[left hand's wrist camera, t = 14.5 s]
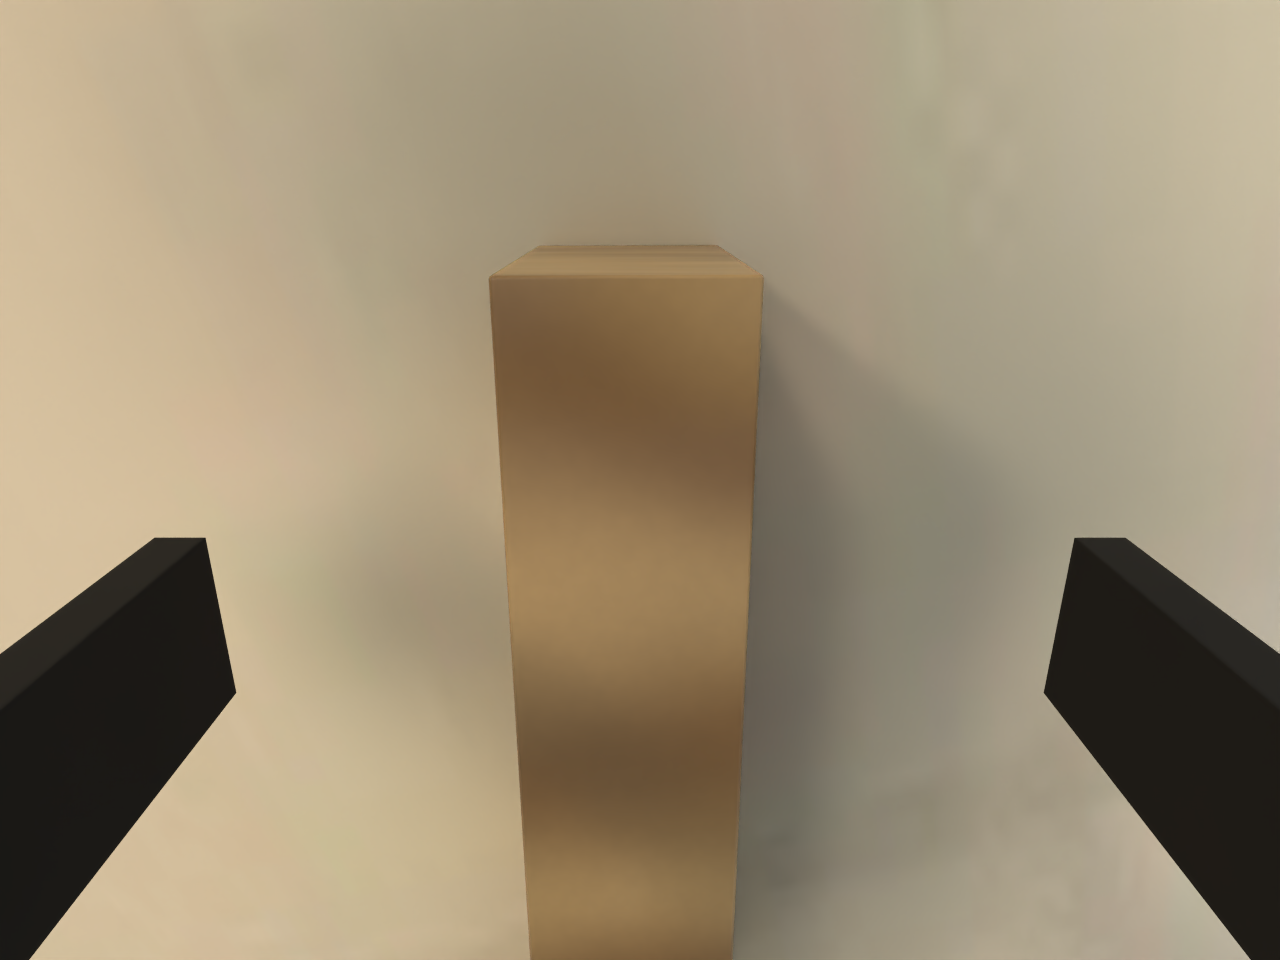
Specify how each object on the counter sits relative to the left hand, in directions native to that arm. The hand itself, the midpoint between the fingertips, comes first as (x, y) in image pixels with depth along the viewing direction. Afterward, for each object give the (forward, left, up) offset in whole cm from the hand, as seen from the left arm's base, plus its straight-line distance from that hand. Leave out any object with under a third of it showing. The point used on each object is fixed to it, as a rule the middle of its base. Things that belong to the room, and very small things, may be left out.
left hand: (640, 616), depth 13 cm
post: (+14, -15, -11) cm, 23 cm away
